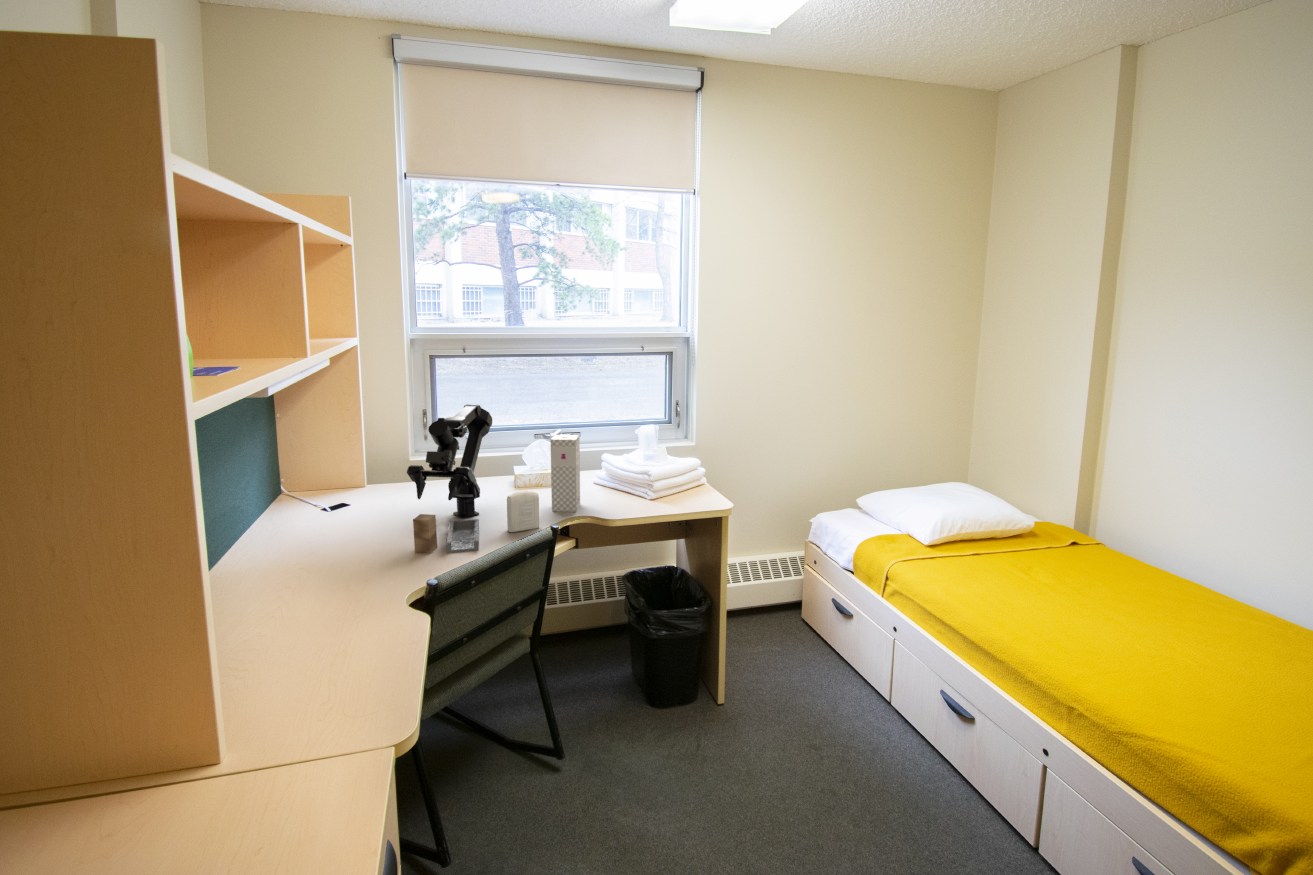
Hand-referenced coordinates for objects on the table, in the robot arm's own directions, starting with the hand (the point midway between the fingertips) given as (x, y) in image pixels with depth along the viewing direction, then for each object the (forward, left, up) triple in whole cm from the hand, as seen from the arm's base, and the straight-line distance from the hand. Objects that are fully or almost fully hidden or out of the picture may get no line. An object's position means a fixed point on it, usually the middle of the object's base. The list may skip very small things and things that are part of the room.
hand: (433, 499), depth 200 cm
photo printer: (+7, +26, -13) cm, 30 cm away
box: (-3, +49, -13) cm, 50 cm away
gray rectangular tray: (+4, +7, -13) cm, 15 cm away
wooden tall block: (+5, -5, -13) cm, 15 cm away
